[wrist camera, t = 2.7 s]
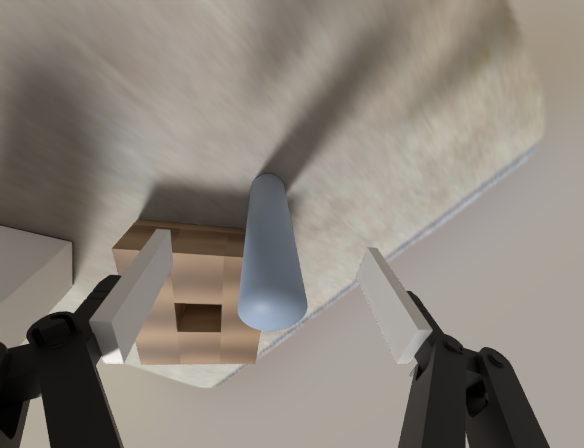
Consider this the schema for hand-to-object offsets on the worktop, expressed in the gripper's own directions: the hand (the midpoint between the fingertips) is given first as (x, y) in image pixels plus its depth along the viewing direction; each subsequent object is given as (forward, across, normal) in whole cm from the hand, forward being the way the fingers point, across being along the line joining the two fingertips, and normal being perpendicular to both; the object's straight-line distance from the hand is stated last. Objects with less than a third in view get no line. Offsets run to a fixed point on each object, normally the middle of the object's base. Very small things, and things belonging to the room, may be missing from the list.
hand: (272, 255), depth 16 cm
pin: (+10, 0, 0) cm, 10 cm away
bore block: (+10, -6, -14) cm, 18 cm away
